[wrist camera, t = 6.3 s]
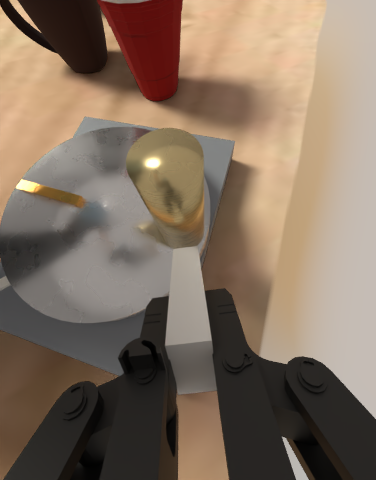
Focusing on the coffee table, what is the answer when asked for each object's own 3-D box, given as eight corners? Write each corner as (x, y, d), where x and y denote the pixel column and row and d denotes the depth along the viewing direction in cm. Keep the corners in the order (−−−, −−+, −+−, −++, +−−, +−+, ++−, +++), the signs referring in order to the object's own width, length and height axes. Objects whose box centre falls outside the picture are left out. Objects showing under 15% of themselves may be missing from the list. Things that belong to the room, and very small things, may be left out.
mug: (113, 80, 34) (67, -36, 23) (35, 84, 35) (-46, -24, 24) (122, 42, 37) (87, -76, 26) (50, 47, 38) (-14, -64, 27)
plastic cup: (202, 68, 33) (201, -58, 22) (182, 117, 30) (169, 0, 19) (140, 61, 35) (109, -59, 24) (115, 107, 32) (66, -6, 20)
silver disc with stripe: (-14, 229, 22) (-215, 152, 12) (121, 118, 26) (64, -16, 16) (101, 376, 17) (-82, 489, 6) (250, 208, 21) (300, 97, 10)
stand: (171, 381, 19) (164, 395, 16) (-3, 316, 22) (-36, 317, 19) (231, 159, 27) (235, 139, 24) (96, 134, 30) (83, 114, 27)
